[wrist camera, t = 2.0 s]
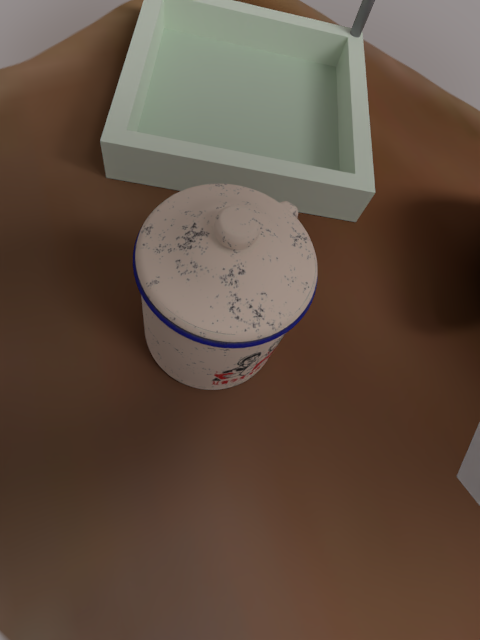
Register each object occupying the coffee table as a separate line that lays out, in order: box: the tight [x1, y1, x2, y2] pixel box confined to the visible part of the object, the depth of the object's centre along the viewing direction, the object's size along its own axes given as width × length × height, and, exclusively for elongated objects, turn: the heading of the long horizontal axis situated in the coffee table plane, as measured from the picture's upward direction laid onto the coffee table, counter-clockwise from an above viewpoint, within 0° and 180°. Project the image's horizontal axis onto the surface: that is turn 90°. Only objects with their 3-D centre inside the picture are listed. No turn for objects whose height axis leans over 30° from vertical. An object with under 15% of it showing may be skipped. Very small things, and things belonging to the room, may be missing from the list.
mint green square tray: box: [100, 0, 375, 222], centre depth 31 cm, size 20×20×14 cm
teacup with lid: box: [133, 184, 317, 390], centre depth 23 cm, size 12×9×12 cm
